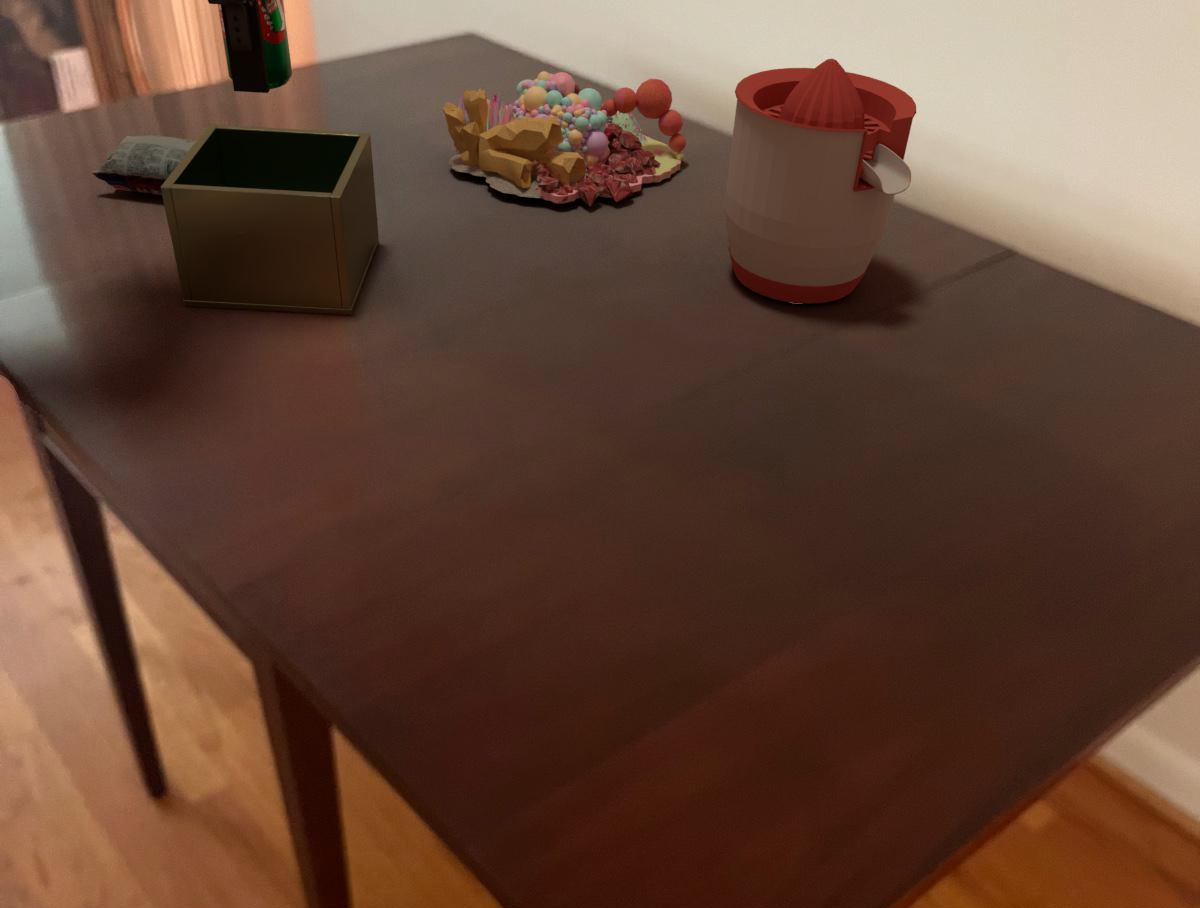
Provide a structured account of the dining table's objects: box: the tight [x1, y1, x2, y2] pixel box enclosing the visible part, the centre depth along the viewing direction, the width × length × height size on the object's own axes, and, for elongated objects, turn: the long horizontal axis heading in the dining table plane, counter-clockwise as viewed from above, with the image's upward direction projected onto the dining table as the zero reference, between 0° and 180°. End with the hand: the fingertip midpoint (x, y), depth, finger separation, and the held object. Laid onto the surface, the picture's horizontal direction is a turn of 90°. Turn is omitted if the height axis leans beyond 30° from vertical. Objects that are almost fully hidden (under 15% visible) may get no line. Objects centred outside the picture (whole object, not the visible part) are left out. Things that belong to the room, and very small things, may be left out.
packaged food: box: [91, 134, 197, 196], centre depth 119 cm, size 9×12×5 cm
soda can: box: [217, 0, 293, 90], centre depth 92 cm, size 5×5×12 cm
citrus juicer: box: [724, 58, 917, 305], centre depth 104 cm, size 16×17×20 cm
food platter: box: [442, 70, 687, 207], centre depth 127 cm, size 25×24×9 cm
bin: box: [161, 123, 380, 316], centre depth 104 cm, size 15×15×11 cm
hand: (260, 78), depth 96 cm, fingers closed on soda can, 5 cm apart
